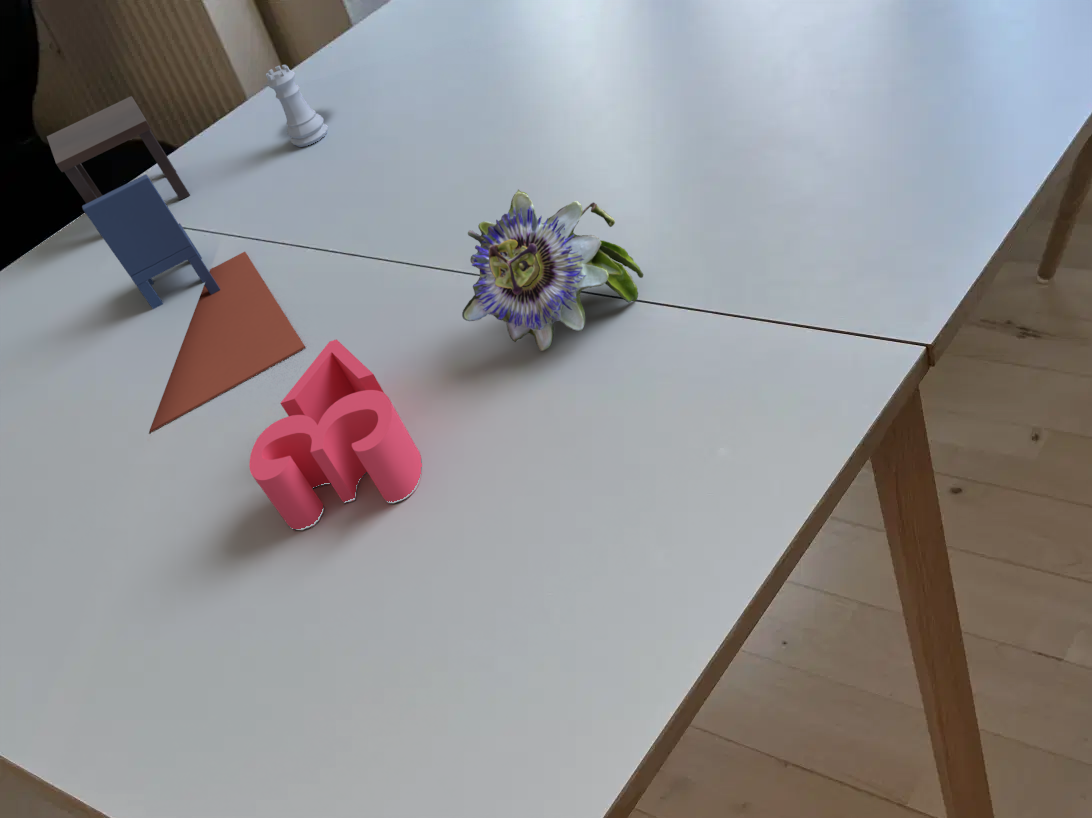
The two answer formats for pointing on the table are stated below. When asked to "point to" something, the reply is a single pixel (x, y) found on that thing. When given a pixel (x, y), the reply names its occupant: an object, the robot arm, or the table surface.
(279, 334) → the flat trapezoid
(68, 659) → the table surface
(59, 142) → the side table
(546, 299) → the passion flower
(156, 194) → the chair
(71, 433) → the table surface
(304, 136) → the rook chess piece
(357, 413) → the letters
